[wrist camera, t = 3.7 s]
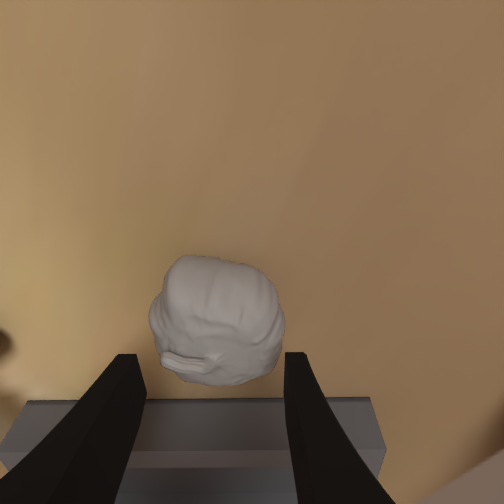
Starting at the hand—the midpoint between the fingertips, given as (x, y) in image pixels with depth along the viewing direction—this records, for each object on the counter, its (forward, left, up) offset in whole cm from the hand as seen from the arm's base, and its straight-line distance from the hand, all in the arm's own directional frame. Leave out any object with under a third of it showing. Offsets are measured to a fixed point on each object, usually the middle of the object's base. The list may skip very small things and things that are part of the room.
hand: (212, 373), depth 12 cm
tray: (+2, +14, -5) cm, 15 cm away
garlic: (0, 0, -5) cm, 5 cm away
